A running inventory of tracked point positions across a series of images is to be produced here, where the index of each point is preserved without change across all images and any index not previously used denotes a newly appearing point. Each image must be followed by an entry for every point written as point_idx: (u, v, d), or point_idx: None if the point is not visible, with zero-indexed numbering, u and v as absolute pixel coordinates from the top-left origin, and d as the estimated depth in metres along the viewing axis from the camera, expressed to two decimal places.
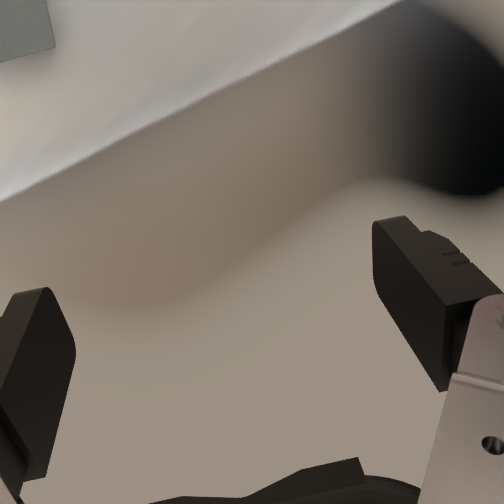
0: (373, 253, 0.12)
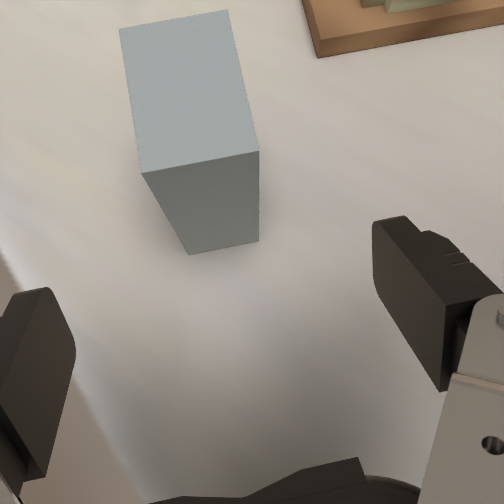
0: (373, 253, 0.12)
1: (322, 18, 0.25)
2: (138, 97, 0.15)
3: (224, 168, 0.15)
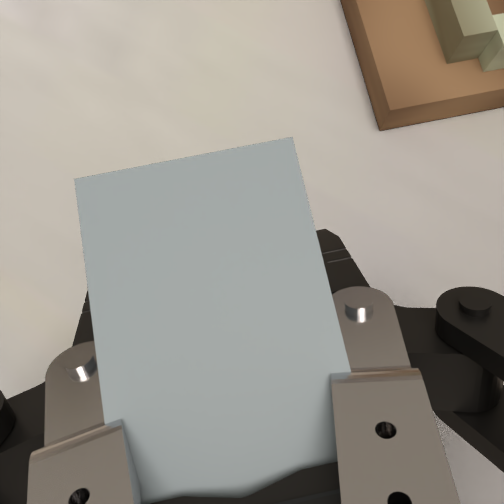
0: None
1: (390, 78, 0.17)
2: (113, 335, 0.07)
3: None
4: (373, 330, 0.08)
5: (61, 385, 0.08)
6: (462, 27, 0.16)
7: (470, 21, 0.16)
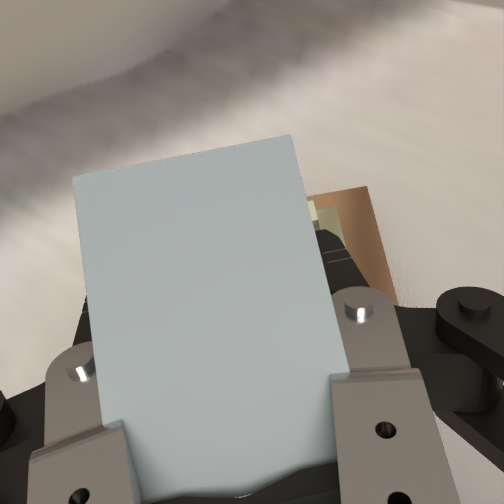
0: None
1: None
2: (111, 334, 0.07)
3: None
4: (373, 330, 0.08)
5: (61, 385, 0.08)
6: None
7: None
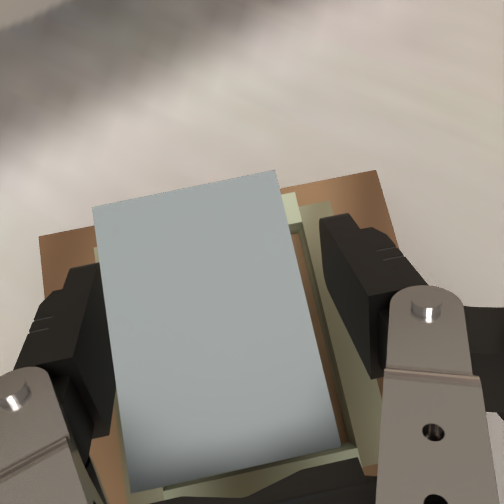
0: (321, 249, 0.13)
1: None
2: (126, 339, 0.08)
3: None
4: (437, 331, 0.08)
5: None
6: None
7: (139, 499, 0.15)
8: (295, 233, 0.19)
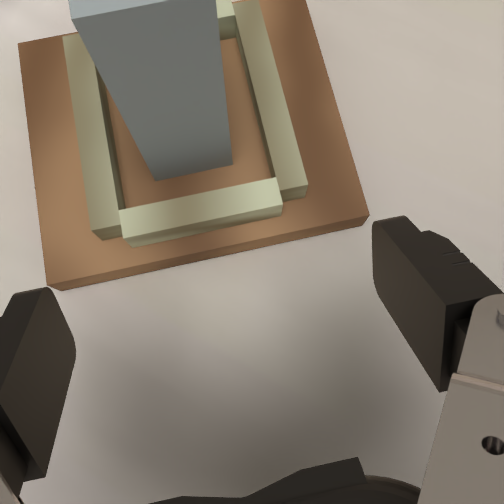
0: (373, 253, 0.12)
1: (52, 255, 0.20)
2: None
3: (175, 22, 0.12)
4: None
5: None
6: (90, 222, 0.19)
7: (99, 216, 0.19)
8: (233, 37, 0.23)
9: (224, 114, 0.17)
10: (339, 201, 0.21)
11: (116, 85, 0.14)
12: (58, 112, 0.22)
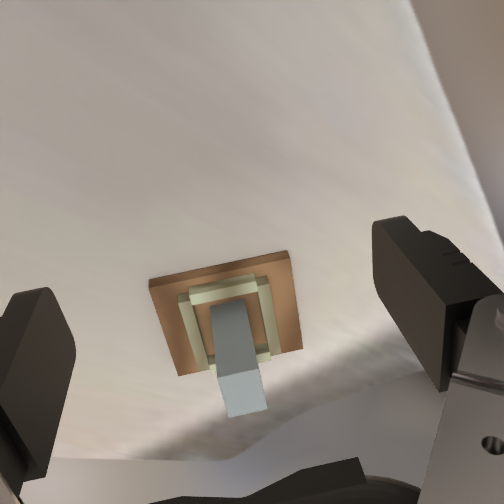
0: (373, 253, 0.12)
1: (287, 269, 0.47)
2: (259, 389, 0.41)
3: (229, 368, 0.40)
4: None
5: None
6: (269, 286, 0.46)
7: (265, 288, 0.46)
8: (209, 355, 0.51)
9: (213, 333, 0.45)
10: (162, 293, 0.47)
11: (250, 346, 0.42)
12: (285, 323, 0.51)
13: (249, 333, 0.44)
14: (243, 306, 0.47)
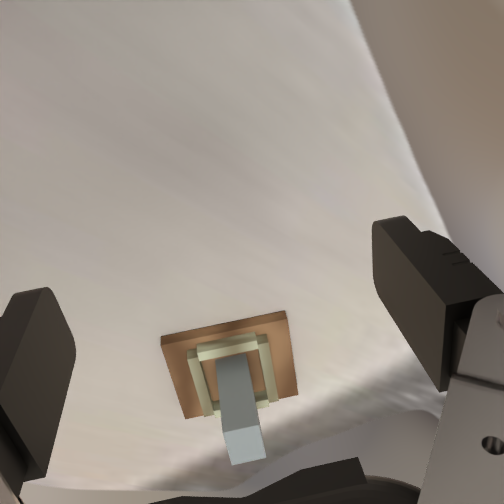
0: (373, 253, 0.12)
1: (285, 328, 0.53)
2: (259, 442, 0.47)
3: (233, 423, 0.46)
4: None
5: None
6: (268, 344, 0.52)
7: (265, 346, 0.52)
8: (213, 401, 0.57)
9: (219, 388, 0.50)
10: (172, 349, 0.52)
11: (251, 402, 0.48)
12: (282, 373, 0.56)
13: (250, 389, 0.49)
14: (245, 361, 0.53)
